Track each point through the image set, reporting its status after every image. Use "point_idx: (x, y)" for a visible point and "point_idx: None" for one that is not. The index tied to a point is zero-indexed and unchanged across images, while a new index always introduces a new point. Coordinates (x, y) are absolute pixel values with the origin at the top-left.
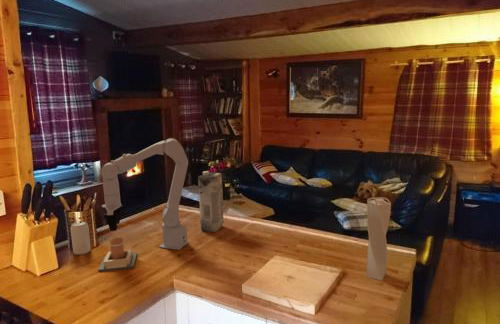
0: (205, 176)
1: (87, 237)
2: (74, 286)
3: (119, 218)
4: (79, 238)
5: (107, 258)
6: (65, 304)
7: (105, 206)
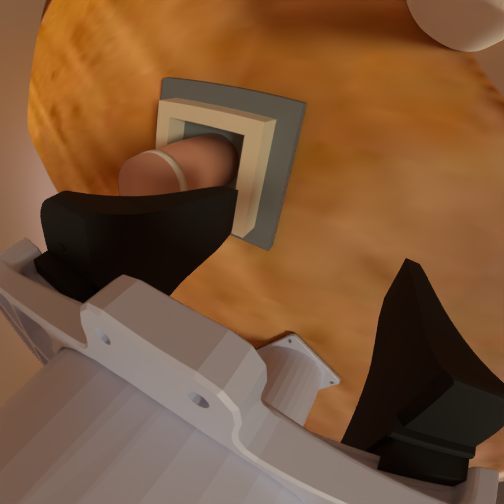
0: None
1: (439, 11)
2: (111, 22)
3: (377, 340)
4: None
5: (184, 116)
6: (60, 35)
7: (68, 342)
